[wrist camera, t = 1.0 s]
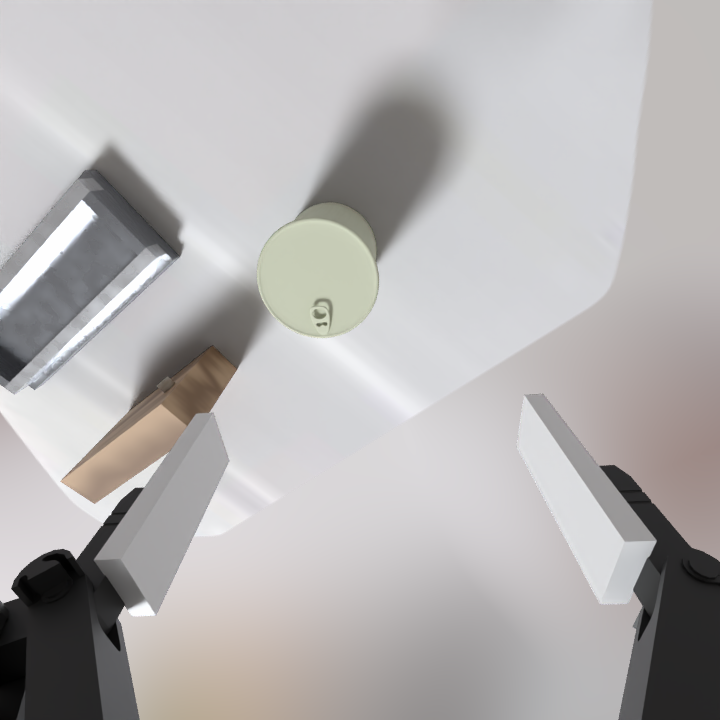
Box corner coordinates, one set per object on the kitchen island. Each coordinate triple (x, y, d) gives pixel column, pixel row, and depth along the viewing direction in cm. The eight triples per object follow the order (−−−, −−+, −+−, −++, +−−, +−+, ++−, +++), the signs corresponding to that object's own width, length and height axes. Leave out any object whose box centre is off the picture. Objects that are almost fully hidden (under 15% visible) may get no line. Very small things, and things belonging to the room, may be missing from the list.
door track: (-36, 323, 42) (-68, 336, 39) (96, 170, 34) (69, 170, 31) (44, 383, 45) (20, 399, 42) (179, 256, 38) (162, 264, 35)
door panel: (122, 405, 47) (51, 475, 36) (206, 338, 42) (151, 396, 32) (154, 430, 49) (94, 503, 38) (237, 369, 44) (195, 433, 33)
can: (294, 297, 40) (267, 345, 29) (279, 206, 35) (240, 222, 25) (378, 291, 39) (382, 338, 28) (373, 198, 35) (376, 212, 24)
